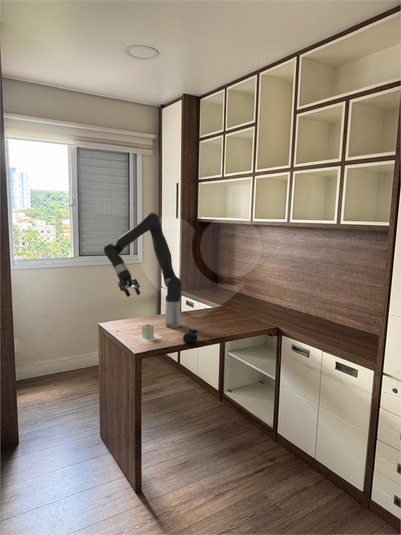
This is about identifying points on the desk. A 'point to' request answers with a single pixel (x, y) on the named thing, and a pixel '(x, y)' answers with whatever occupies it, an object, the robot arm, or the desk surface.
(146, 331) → the sleeve
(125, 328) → the mat
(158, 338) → the peg stand
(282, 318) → the desk surface
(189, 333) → the end cap
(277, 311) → the desk surface
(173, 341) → the desk surface
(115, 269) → the robot arm
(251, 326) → the desk surface
